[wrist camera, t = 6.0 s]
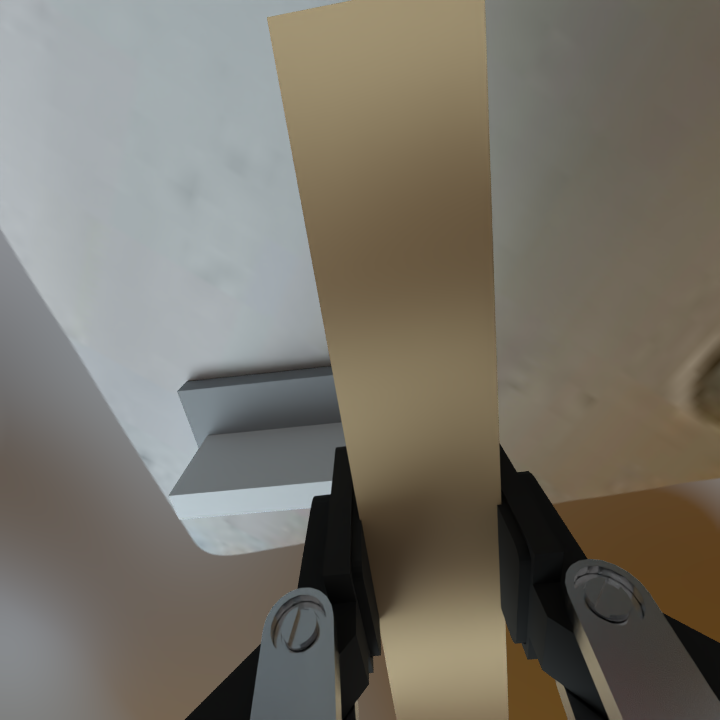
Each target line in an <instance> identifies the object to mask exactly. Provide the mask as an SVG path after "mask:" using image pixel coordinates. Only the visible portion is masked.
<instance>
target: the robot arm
mask: <svg viewBox="0 0 720 720" xmlns="http://www.w3.org/2000/svg"><path fill="white" fill-rule="evenodd" d="M499 447H500V478H501V504H499V505H497V518H498V545H499V571H500V598H501V610H502V612H503V615H504V618H505V621H506V624H507V627H508V629H509V631H510V635H511V638H512V640H513V642H514V643H522V646H523V648H524V651H525V654H526V656H527V659H538V660H539V663H540V665H541V668H542V670H543V671H545V672H546V673H547V674H549V675H550V676H551V677H553V678H554V679H555V680H556V684H557V688H558V691H559V694H560V697H561V700H562V702H563V706H564V708H565V712H566V715H567V718H568V720H720V643H719V642H717V641H715V640H713V639H711V638H709V637H707V636H705V635H703V634H702V633H700V632H698V631H696V630H694V629H692V628H690V627H688V626H686V625H685V624H682V623H681V622H679V621H677V620H675V619H673V618H671V617H669V616H667V615H666V614H664V613H662V612H661V610H660V609H659V607H658V606H657V604H656V603H655V601H654V600H653V598H652V597H651V595H650V593H649V592H648V591H647V590H646V589H645V587H644V586H643V585H642V584H641V583H640V582H639V581H638V580H637V579H636V578H635V577H633V576H632V575H631V574H630V573H628V572H627V571H625V570H623V569H621V568H620V567H618V566H616V565H614V564H611V563H608V562H605V561H602V560H594V559H587V558H586V556H585V554H584V553H583V551H582V550H581V548H580V547H579V545H578V543H577V542H576V540H575V539H574V537H573V536H572V534H571V533H570V531H569V530H568V528H567V527H566V525H565V523H564V522H563V520H562V519H561V517H560V516H559V514H558V513H557V511H556V510H555V508H554V507H553V505H552V503H551V502H550V500H549V499H548V497H547V496H546V494H545V493H544V491H543V490H542V488H541V486H540V485H539V483H538V482H537V480H536V479H535V477H534V476H533V475H532V474H531V473H530V472H529V471H526V472H516V470H515V468H514V467H513V465H512V463H511V462H510V460H509V458H508V457H507V455H506V453H505V451H504V450H503V448H502V446H501V445H500V443H499ZM379 655H381V640H380V619H379V613H378V608H377V603H376V597H375V592H374V586H373V581H372V575H371V570H370V564H369V559H368V553H367V548H366V542H365V537H364V532H363V526H362V521H361V520H360V518H359V513H358V508H357V502H356V497H355V491H354V486H353V480H352V475H351V470H350V464H349V459H348V453H347V448H346V446H343V447H336V449H335V458H334V467H333V477H332V487H331V494H327V495H319V496H314V497H313V499H312V504H311V510H310V516H309V522H308V528H307V534H306V540H305V546H304V552H303V558H302V565H301V571H300V577H299V583H298V589H296V590H294V591H290V592H289V593H288V594H286V595H285V596H283V597H282V598H280V599H279V601H278V602H277V603H276V604H275V605H274V606H273V607H272V609H271V611H270V612H269V614H268V616H267V618H266V621H265V625H264V628H263V634H262V641H261V644H260V645H259V646H258V647H257V648H256V649H255V650H254V651H253V652H252V653H251V654H250V655H249V656H248V657H247V658H246V659H245V660H244V661H243V662H242V663H241V664H240V665H239V666H238V667H237V668H236V669H235V670H234V671H233V672H232V673H231V674H230V675H229V676H228V677H227V678H226V679H225V680H224V681H223V682H222V683H221V684H220V685H219V686H218V687H217V688H216V689H215V690H214V691H213V692H212V693H211V694H210V695H209V696H208V697H207V698H206V699H205V700H204V701H203V702H202V703H201V704H200V705H199V706H198V707H197V708H196V709H195V710H194V711H193V712H192V713H191V714H190V715H189V716H188V717H187V718H186V719H185V720H359V713H358V698H359V697H360V696H361V694H362V693H363V691H364V690H365V689H366V687H367V686H368V685H369V673H373V656H379Z"/></svg>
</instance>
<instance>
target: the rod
mask: <svg viewBox="0 0 720 720" xmlns="http://www.w3.org/2000/svg"><path fill="white" fill-rule="evenodd" d="M267 20H268V26H269V31H270V36H271V42H272V47H273V53H274V58H275V63H276V69H277V74H278V80H279V85H280V91H281V96H282V101H283V107H284V112H285V118H286V123H287V128H288V134H289V139H290V145H291V150H292V156H293V161H294V166H295V172H296V177H297V183H298V188H299V193H300V199H301V204H302V210H303V215H304V221H305V226H306V231H307V237H308V242H309V248H310V253H311V258H312V264H313V269H314V275H315V280H316V286H317V291H318V296H319V302H320V307H321V313H322V318H323V323H324V329H325V334H326V340H327V345H328V350H329V356H330V361H331V367H332V372H333V378H334V383H335V388H336V394H337V399H338V405H339V410H340V415H341V421H342V426H343V432H344V437H345V443H346V448H347V453H348V459H349V464H350V470H351V475H352V480H353V486H354V491H355V497H356V502H357V508H358V513H359V518H360V520H361V521H362V526H363V532H364V537H365V542H366V548H367V553H368V559H369V564H370V570H371V575H372V581H373V586H374V592H375V597H376V603H377V608H378V613H379V619H380V632H381V637H382V643H383V648H384V654H385V659H386V665H387V670H388V675H389V681H390V686H391V692H392V697H393V702H394V708H395V713H396V719H397V720H508V690H507V660H506V630H505V618H504V615H503V612H502V610H501V598H500V571H499V545H498V518H497V505H499V504H501V478H500V447H499V417H498V387H497V356H496V326H495V295H494V265H493V235H492V204H491V174H490V144H489V113H488V83H487V52H486V22H485V0H352V1H347V2H342V3H337V4H332V5H327V6H322V7H317V8H312V9H307V10H302V11H297V12H292V13H287V14H282V15H277V16H272V17H267Z"/></svg>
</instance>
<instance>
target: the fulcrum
mask: <svg viewBox="0 0 720 720" xmlns="http://www.w3.org/2000/svg"><path fill="white" fill-rule="evenodd" d="M177 392H178V395H179V397H180V400H181V403H182V405H183V408H184V411H185V413H186V416H187V418H188V421H189V424H190V426H191V429H192V432H193V434H194V437H195V440H196V442H197V445H198V448H199V449H198V451H197V452H196V454H195V455H194V457H193V459H192V460H191V462H190V463H189V465H188V466H187V468H186V469H185V471H184V473H183V474H182V476H181V477H180V479H179V480H178V482H177V483H176V485H175V487H174V488H173V490H172V491H171V493H170V494H169V498H170V501H171V503H172V505H173V507H174V509H175V512H176V514H177V516H178V518H179V520H181V519H192V518H204V517H215V516H226V515H237V514H249V513H260V512H271V511H282V510H293V509H305V508H311V504H312V499H313V497H314V496H319V495H327V494H331V487H332V477H333V467H334V458H335V449H336V447H343V446H346V443H345V437H344V432H343V426H342V421H341V415H340V410H339V405H338V399H337V394H336V388H335V383H334V378H333V372H332V367H331V366H330V367H320V368H311V369H301V370H292V371H282V372H273V373H263V374H254V375H244V376H235V377H225V378H216V379H207V380H197V381H188V382H186V383H185V384H184V385H183V386H182V387H181V388H180V389H179V390H178V391H177Z"/></svg>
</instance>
